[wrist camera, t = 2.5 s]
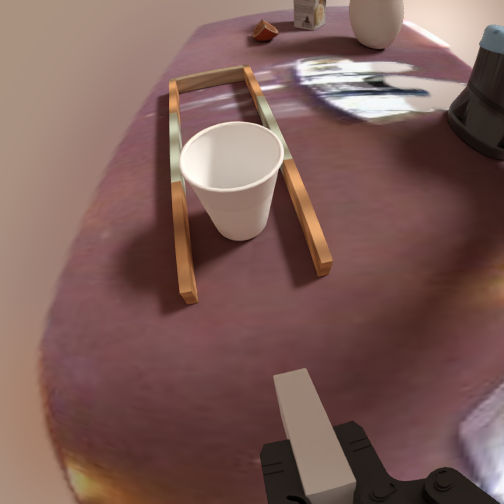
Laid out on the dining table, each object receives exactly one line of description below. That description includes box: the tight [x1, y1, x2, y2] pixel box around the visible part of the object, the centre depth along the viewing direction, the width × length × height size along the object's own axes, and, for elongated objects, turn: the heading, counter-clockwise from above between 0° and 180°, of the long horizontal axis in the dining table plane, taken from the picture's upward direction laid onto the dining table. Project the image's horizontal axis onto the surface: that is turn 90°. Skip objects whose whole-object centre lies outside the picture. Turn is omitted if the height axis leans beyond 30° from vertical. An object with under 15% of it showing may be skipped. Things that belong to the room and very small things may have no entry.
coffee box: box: [294, 0, 326, 31], centre depth 65 cm, size 9×6×16 cm
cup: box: [179, 122, 284, 241], centre depth 33 cm, size 10×10×11 cm
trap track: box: [169, 64, 333, 304], centre depth 43 cm, size 44×15×3 cm, turn 11°
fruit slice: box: [252, 19, 279, 41], centre depth 65 cm, size 8×7×5 cm
